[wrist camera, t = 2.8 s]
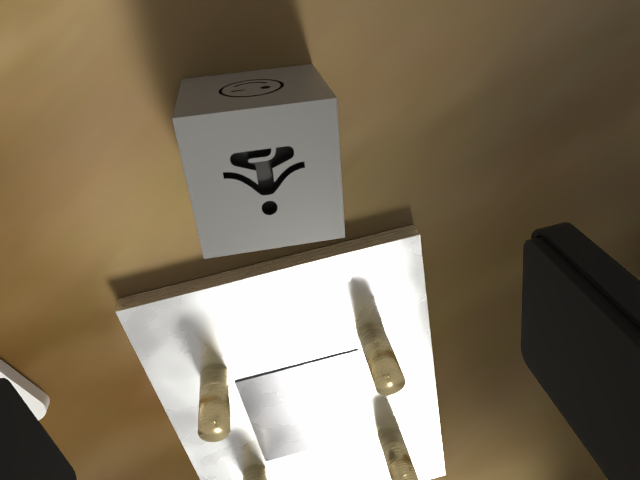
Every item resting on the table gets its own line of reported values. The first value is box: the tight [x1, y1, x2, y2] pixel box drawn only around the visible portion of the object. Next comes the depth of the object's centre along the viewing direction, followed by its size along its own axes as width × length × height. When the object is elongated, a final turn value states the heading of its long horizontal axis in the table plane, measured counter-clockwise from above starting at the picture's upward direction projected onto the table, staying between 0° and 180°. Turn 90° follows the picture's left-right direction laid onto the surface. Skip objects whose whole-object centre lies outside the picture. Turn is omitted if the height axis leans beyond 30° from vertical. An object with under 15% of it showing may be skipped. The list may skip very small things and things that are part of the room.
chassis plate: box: [115, 224, 445, 480], centre depth 27 cm, size 14×18×4 cm
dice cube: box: [172, 64, 345, 259], centre depth 19 cm, size 5×5×5 cm
